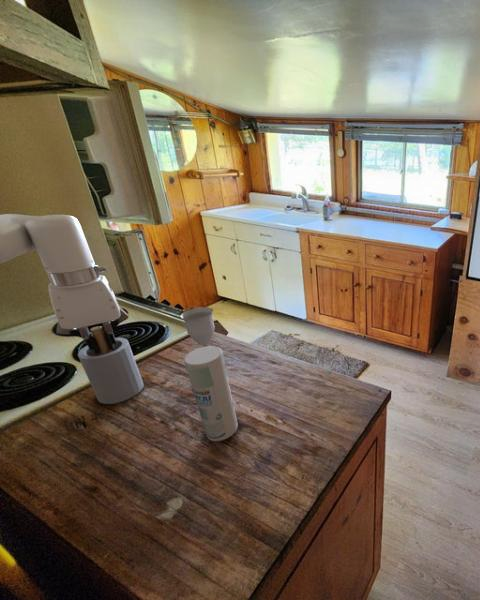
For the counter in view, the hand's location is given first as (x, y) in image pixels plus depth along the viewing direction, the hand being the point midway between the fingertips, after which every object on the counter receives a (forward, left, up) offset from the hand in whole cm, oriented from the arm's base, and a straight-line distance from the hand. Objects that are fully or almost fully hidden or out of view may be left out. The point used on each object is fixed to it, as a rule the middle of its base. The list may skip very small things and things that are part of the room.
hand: (104, 348), depth 76 cm
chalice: (+19, +6, -13) cm, 24 cm away
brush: (0, 0, -12) cm, 12 cm away
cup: (0, 0, -13) cm, 13 cm away
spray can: (+28, -17, -13) cm, 35 cm away
